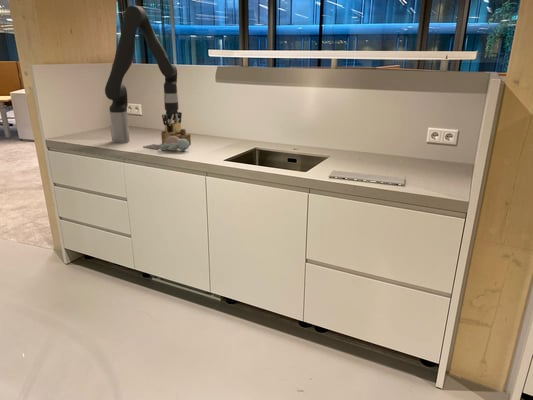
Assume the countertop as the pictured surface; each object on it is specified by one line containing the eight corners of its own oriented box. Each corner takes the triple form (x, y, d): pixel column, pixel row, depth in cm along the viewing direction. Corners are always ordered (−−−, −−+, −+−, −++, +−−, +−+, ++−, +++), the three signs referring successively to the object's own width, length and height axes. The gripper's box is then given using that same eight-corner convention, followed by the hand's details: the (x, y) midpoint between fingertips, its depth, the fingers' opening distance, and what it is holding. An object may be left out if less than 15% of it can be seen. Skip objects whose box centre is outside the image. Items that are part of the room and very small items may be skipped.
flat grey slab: (333, 172, 186) (328, 179, 175) (334, 165, 185) (329, 172, 174) (404, 179, 176) (403, 187, 165) (405, 173, 175) (404, 180, 164)
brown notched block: (162, 143, 235) (160, 127, 232) (171, 141, 241) (170, 126, 238) (182, 146, 228) (181, 130, 225) (190, 144, 234) (190, 128, 231)
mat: (143, 147, 225) (142, 146, 225) (153, 144, 231) (153, 144, 231) (156, 149, 220) (156, 148, 220) (166, 146, 227) (166, 146, 227)
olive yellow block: (165, 133, 233) (164, 121, 231) (170, 131, 237) (169, 120, 235) (175, 134, 230) (175, 122, 228) (181, 133, 234) (180, 121, 231)
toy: (163, 161, 216) (187, 150, 211) (154, 143, 214) (177, 132, 209) (172, 156, 227) (195, 145, 222) (163, 139, 225) (186, 128, 220)
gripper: (174, 99, 235) (176, 129, 241) (156, 102, 223) (159, 132, 229) (184, 100, 232) (186, 130, 237) (167, 103, 220) (169, 134, 226)
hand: (173, 131), depth 233 cm, fingers open, 5 cm apart
